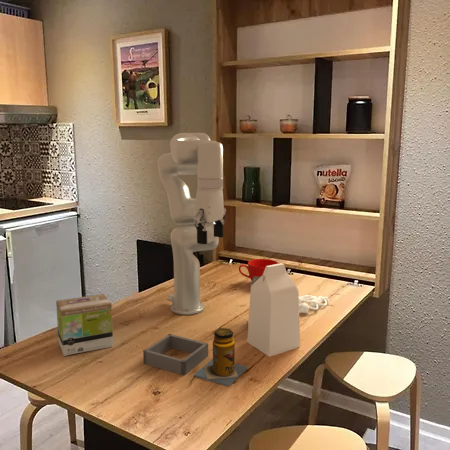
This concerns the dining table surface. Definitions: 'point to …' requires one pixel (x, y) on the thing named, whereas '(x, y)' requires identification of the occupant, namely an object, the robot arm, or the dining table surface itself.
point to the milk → (274, 312)
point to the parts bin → (173, 364)
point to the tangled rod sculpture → (311, 302)
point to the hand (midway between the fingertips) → (210, 240)
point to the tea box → (84, 324)
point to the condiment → (222, 355)
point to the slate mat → (223, 381)
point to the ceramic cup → (257, 267)
